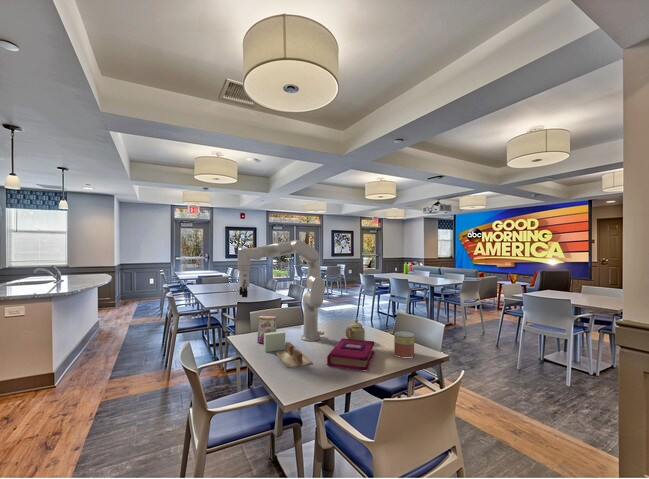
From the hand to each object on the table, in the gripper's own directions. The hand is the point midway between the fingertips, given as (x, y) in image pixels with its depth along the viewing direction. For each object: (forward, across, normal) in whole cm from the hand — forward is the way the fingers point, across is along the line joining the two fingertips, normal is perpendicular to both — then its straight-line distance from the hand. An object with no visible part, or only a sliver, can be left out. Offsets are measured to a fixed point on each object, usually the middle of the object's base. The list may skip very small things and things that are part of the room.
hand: (243, 296), depth 185 cm
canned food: (+31, -49, -84) cm, 102 cm away
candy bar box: (+31, +3, -16) cm, 35 cm away
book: (+32, -43, -53) cm, 75 cm away
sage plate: (+31, -12, -17) cm, 37 cm away
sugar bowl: (+31, -19, -69) cm, 78 cm away
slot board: (+31, -30, -23) cm, 49 cm away
